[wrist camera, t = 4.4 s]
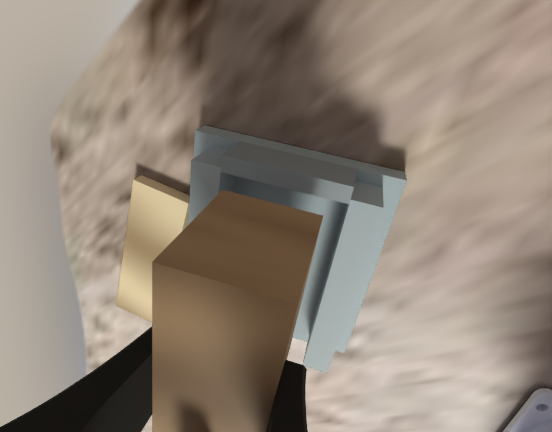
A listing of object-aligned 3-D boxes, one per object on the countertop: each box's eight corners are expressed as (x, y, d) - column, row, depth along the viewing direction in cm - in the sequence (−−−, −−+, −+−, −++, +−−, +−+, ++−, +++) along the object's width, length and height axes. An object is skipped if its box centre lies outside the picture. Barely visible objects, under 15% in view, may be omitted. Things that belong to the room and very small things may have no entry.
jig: (345, 339, 20) (340, 385, 18) (193, 293, 21) (168, 329, 19) (405, 172, 15) (410, 201, 13) (204, 125, 17) (172, 142, 14)
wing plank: (169, 312, 23) (159, 325, 22) (127, 293, 24) (115, 305, 22) (198, 194, 19) (188, 203, 18) (146, 171, 19) (133, 179, 18)
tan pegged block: (282, 376, 16) (232, 560, 10) (206, 352, 16) (120, 515, 11) (323, 215, 12) (279, 371, 6) (222, 189, 12) (101, 313, 7)
